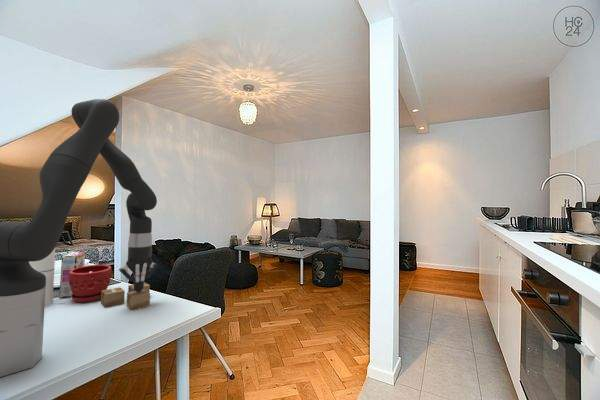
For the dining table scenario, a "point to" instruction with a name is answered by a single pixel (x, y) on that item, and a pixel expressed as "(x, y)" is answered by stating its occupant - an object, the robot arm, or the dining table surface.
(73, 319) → the dining table surface
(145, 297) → the plain walnut block
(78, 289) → the plant pot
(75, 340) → the dining table surface
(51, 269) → the cylindrical container
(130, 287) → the cube with circle marking
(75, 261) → the candy bar box
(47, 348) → the dining table surface
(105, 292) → the marked walnut block bar
